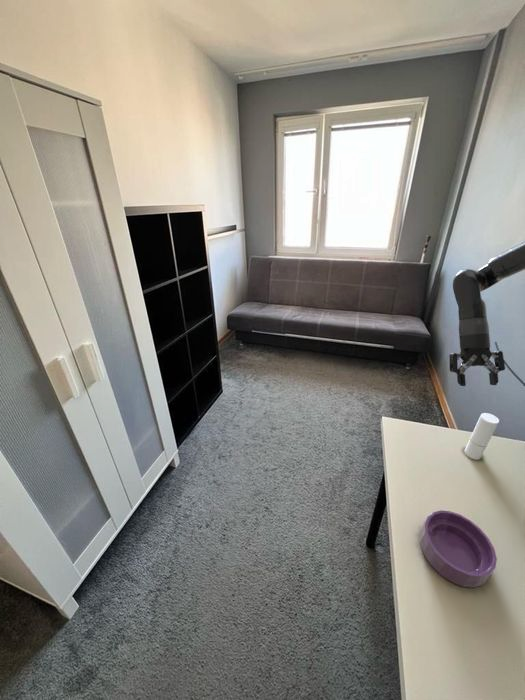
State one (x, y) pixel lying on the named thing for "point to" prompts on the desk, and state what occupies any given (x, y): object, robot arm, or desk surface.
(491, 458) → the desk surface
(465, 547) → the bowl
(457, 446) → the desk surface
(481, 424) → the tube
